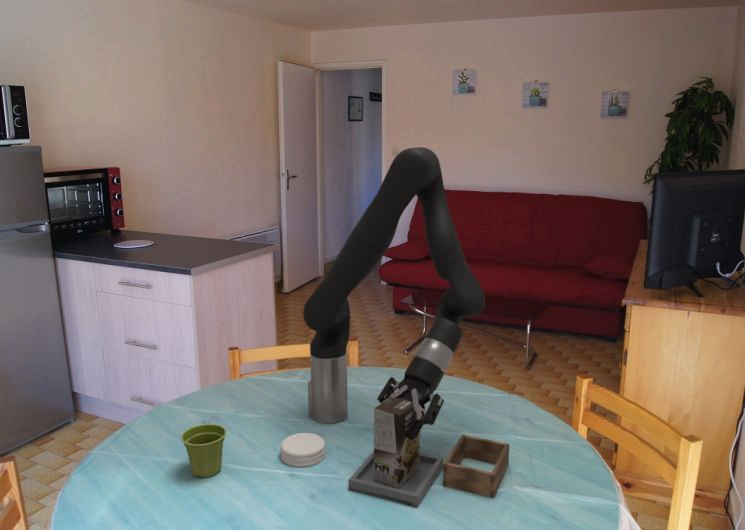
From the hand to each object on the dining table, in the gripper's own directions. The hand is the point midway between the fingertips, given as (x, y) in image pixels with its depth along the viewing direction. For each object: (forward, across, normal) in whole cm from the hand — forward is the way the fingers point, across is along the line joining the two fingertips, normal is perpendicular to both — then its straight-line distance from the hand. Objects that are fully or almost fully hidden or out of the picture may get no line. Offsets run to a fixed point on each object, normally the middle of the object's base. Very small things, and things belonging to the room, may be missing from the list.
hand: (393, 431), depth 126 cm
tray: (+7, 0, +9) cm, 11 cm away
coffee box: (+6, 0, +8) cm, 11 cm away
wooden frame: (-2, +11, +18) cm, 21 cm away
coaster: (+13, -22, +4) cm, 25 cm away
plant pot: (+26, -32, -10) cm, 42 cm away
